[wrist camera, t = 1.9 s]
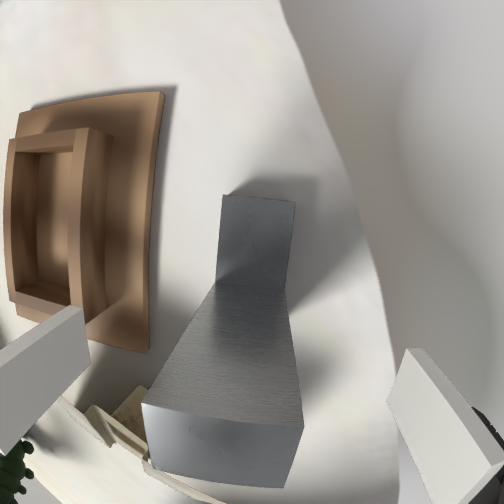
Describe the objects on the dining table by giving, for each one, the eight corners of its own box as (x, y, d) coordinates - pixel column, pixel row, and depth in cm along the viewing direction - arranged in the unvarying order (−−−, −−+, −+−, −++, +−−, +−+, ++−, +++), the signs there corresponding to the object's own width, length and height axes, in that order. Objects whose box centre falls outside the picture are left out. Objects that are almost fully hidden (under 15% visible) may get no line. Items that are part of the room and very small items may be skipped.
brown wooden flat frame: (149, 347, 20) (128, 375, 16) (23, 311, 21) (-4, 326, 17) (165, 95, 17) (142, 74, 13) (26, 115, 17) (-4, 107, 14)
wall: (238, 442, 27) (283, 446, 15) (199, 503, 21) (216, 553, 9) (112, 361, 28) (70, 304, 17) (71, 416, 23) (0, 395, 11)
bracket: (276, 322, 19) (283, 488, 7) (217, 315, 19) (152, 468, 7) (292, 201, 18) (349, 210, 5) (227, 195, 18) (136, 190, 5)
